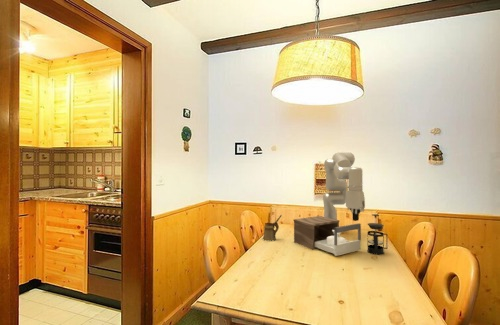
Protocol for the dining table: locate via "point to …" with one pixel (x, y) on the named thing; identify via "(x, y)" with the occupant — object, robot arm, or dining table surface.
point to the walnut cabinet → (313, 230)
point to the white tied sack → (331, 240)
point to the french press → (376, 238)
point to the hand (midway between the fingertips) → (355, 220)
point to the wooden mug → (270, 230)
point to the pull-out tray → (343, 247)
